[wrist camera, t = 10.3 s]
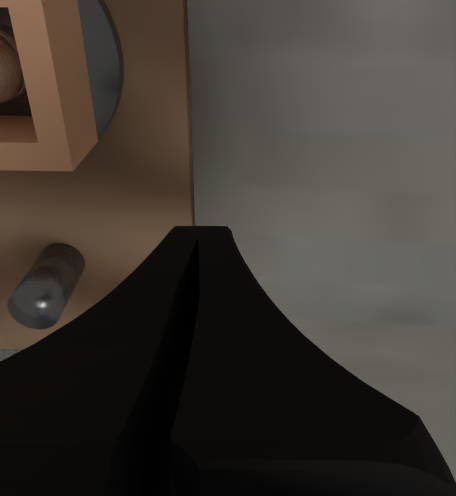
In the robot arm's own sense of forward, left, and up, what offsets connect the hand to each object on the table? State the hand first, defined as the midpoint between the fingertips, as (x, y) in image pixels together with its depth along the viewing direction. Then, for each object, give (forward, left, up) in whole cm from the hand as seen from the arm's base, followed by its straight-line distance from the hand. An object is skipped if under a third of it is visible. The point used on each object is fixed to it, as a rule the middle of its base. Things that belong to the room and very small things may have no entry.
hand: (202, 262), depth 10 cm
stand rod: (-8, -2, -8) cm, 12 cm away
